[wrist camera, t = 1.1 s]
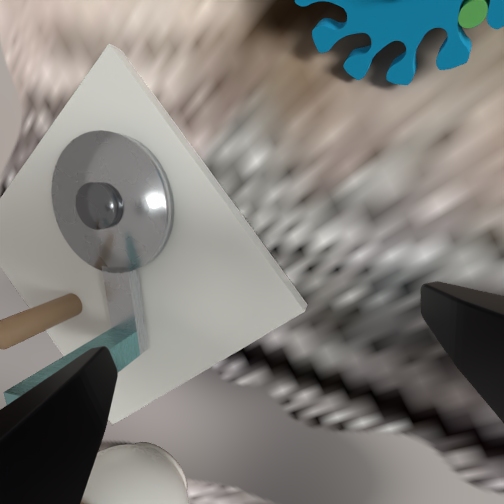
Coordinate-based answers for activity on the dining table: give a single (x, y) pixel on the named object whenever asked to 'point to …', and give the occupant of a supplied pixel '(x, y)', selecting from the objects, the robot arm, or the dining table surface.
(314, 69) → the dining table surface
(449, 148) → the dining table surface
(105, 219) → the flange plate
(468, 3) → the gear
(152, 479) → the lidded bowl
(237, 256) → the clock board
